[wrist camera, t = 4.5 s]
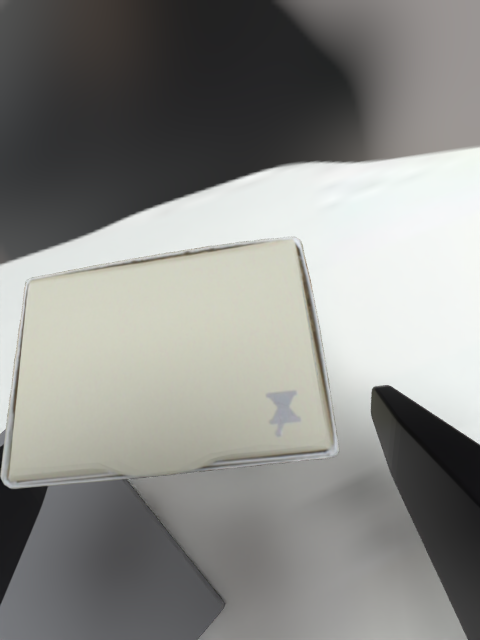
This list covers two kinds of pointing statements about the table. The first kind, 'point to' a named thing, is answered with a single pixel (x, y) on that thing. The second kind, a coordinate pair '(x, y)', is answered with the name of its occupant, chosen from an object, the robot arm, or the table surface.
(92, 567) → the mat
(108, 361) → the skincare box
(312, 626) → the table surface
